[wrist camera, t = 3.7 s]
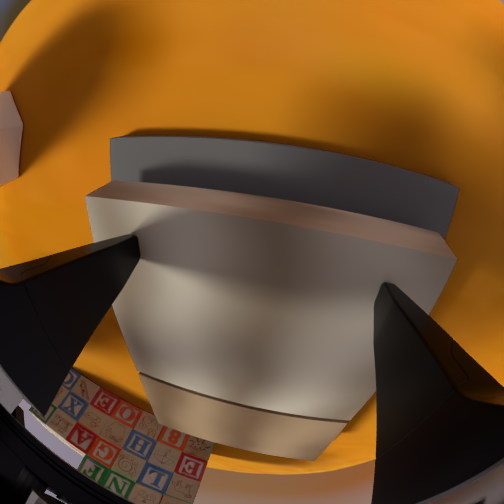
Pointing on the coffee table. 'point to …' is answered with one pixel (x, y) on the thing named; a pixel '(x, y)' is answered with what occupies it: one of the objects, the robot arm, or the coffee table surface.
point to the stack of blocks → (126, 445)
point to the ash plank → (261, 292)
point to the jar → (9, 138)
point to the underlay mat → (287, 176)
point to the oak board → (239, 422)
